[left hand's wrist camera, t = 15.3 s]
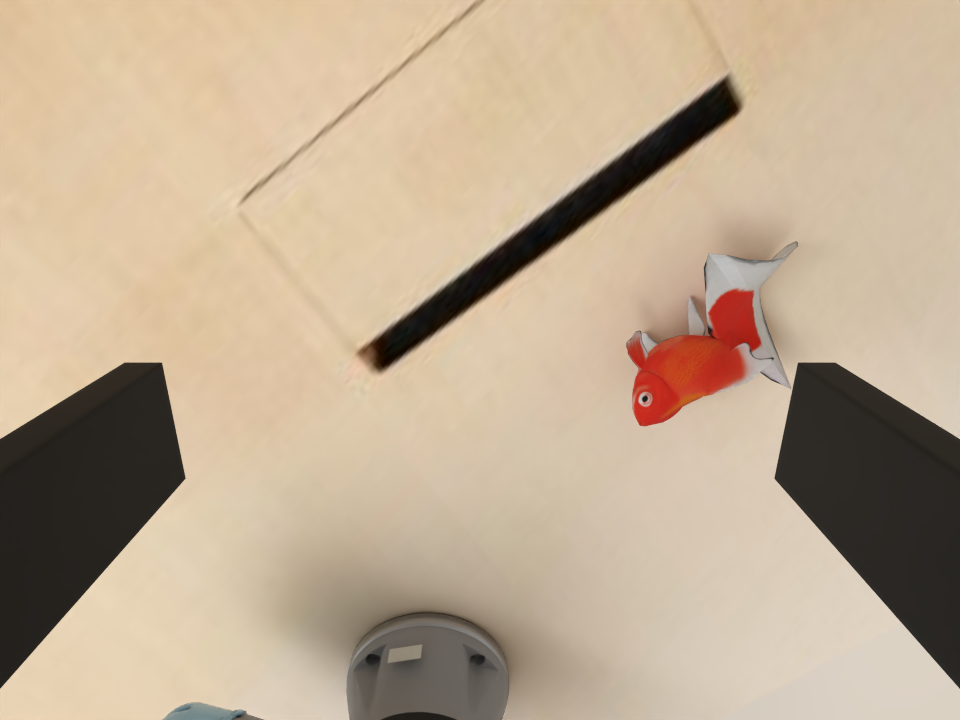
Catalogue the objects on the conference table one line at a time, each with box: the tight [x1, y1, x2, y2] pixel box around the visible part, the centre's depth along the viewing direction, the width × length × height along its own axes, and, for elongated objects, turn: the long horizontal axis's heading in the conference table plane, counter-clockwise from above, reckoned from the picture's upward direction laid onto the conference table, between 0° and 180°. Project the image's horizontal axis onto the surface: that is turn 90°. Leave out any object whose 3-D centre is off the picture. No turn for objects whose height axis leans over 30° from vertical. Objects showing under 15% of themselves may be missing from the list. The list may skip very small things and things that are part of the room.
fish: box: [626, 241, 798, 426], centre depth 40 cm, size 11×16×10 cm
